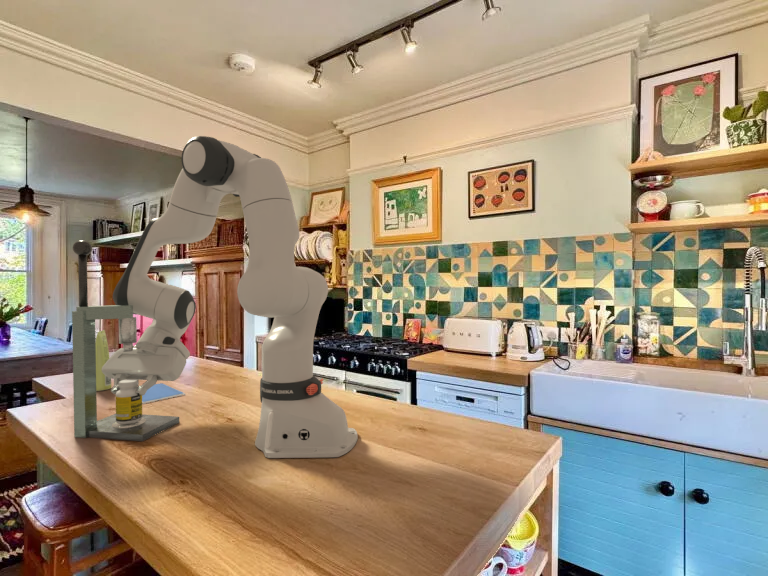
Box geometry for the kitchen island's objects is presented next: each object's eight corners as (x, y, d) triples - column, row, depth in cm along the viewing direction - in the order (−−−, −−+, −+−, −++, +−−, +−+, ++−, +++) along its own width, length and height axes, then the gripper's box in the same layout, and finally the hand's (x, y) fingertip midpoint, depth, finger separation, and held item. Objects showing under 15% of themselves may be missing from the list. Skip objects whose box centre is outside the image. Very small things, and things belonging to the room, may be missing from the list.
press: (179, 422, 101) (176, 243, 100) (139, 442, 88) (136, 237, 87) (117, 418, 104) (114, 244, 103) (71, 437, 91) (67, 239, 91)
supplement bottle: (133, 424, 94) (132, 383, 94) (110, 424, 94) (109, 383, 94) (147, 416, 99) (146, 377, 99) (126, 416, 99) (125, 377, 99)
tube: (89, 390, 132) (88, 331, 131) (105, 386, 136) (104, 329, 136) (98, 392, 129) (97, 332, 129) (115, 388, 134) (114, 330, 133)
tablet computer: (186, 396, 125) (186, 392, 125) (142, 406, 116) (142, 402, 116) (162, 386, 138) (162, 382, 138) (120, 394, 129) (120, 390, 129)
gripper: (115, 338, 105) (81, 385, 95) (184, 339, 101) (156, 388, 92) (129, 352, 109) (98, 398, 100) (196, 354, 106) (170, 401, 96)
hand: (126, 393), depth 96 cm, fingers closed on supplement bottle, 5 cm apart
